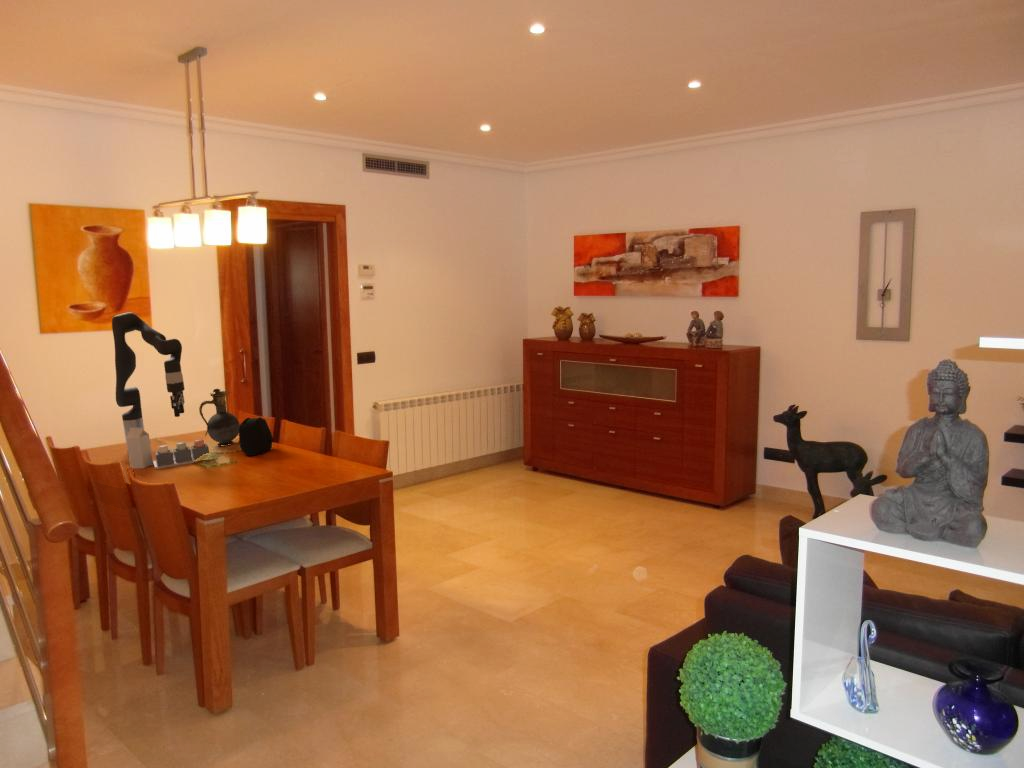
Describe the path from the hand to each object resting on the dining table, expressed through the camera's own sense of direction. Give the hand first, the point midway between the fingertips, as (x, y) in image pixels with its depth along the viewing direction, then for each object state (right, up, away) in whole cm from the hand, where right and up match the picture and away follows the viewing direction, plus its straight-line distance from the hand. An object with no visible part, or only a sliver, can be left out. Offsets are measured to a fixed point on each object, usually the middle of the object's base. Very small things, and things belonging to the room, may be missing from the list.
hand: (179, 414), depth 365 cm
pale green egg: (-1, -19, +4) cm, 19 cm away
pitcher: (+8, -17, +32) cm, 37 cm away
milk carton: (-18, -25, 0) cm, 31 cm away
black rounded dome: (+32, -19, +13) cm, 40 cm away
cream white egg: (-7, -20, +1) cm, 21 cm away
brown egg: (+6, -18, +8) cm, 20 cm away
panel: (0, -23, +5) cm, 23 cm away
